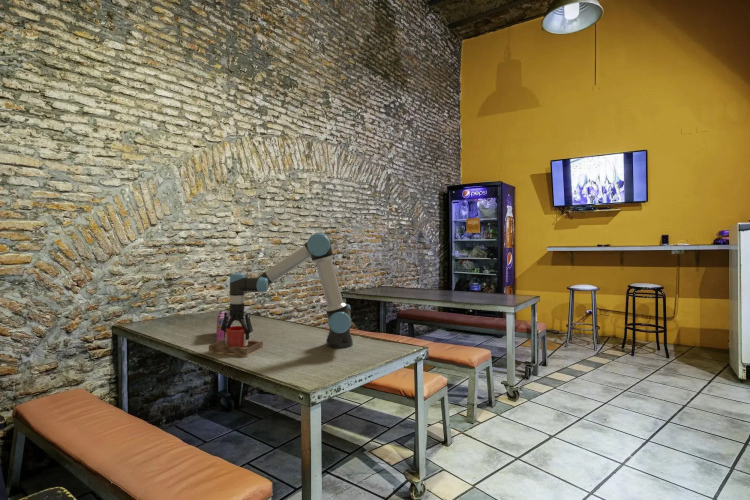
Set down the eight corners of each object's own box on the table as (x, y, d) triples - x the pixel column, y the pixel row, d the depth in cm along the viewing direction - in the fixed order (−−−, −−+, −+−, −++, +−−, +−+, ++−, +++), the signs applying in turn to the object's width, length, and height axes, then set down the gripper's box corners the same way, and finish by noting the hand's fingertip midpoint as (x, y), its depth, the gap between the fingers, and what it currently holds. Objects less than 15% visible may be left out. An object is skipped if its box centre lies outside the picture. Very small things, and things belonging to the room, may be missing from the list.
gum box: (219, 332, 262) (219, 310, 261) (232, 331, 264) (233, 310, 263) (216, 341, 239) (216, 318, 238) (230, 341, 241) (231, 317, 240)
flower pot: (241, 342, 229) (241, 324, 228) (250, 346, 221) (250, 328, 221) (222, 345, 221) (222, 327, 221) (231, 350, 213) (231, 331, 213)
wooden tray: (262, 348, 226) (263, 341, 226) (246, 356, 211) (246, 348, 210) (227, 345, 232) (227, 337, 231) (208, 352, 216) (208, 345, 216)
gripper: (260, 303, 221) (259, 344, 222) (222, 300, 227) (222, 341, 227) (252, 305, 214) (252, 348, 215) (213, 302, 219) (213, 344, 220)
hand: (236, 344), depth 221 cm, fingers closed on flower pot, 10 cm apart
